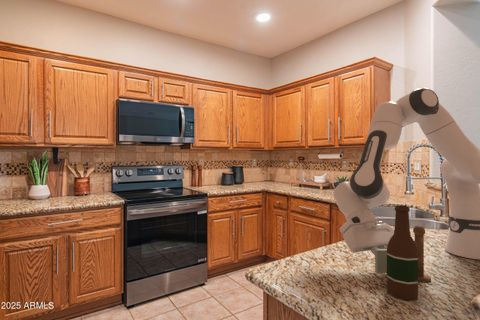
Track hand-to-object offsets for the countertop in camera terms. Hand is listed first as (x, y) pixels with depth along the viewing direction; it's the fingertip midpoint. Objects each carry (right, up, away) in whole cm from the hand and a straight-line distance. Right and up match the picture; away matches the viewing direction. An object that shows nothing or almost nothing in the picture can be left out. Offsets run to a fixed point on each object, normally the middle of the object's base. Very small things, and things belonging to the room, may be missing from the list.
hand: (387, 260), depth 85 cm
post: (+9, -5, -1) cm, 11 cm away
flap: (+2, -3, -2) cm, 4 cm away
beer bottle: (-2, -5, -12) cm, 13 cm away
